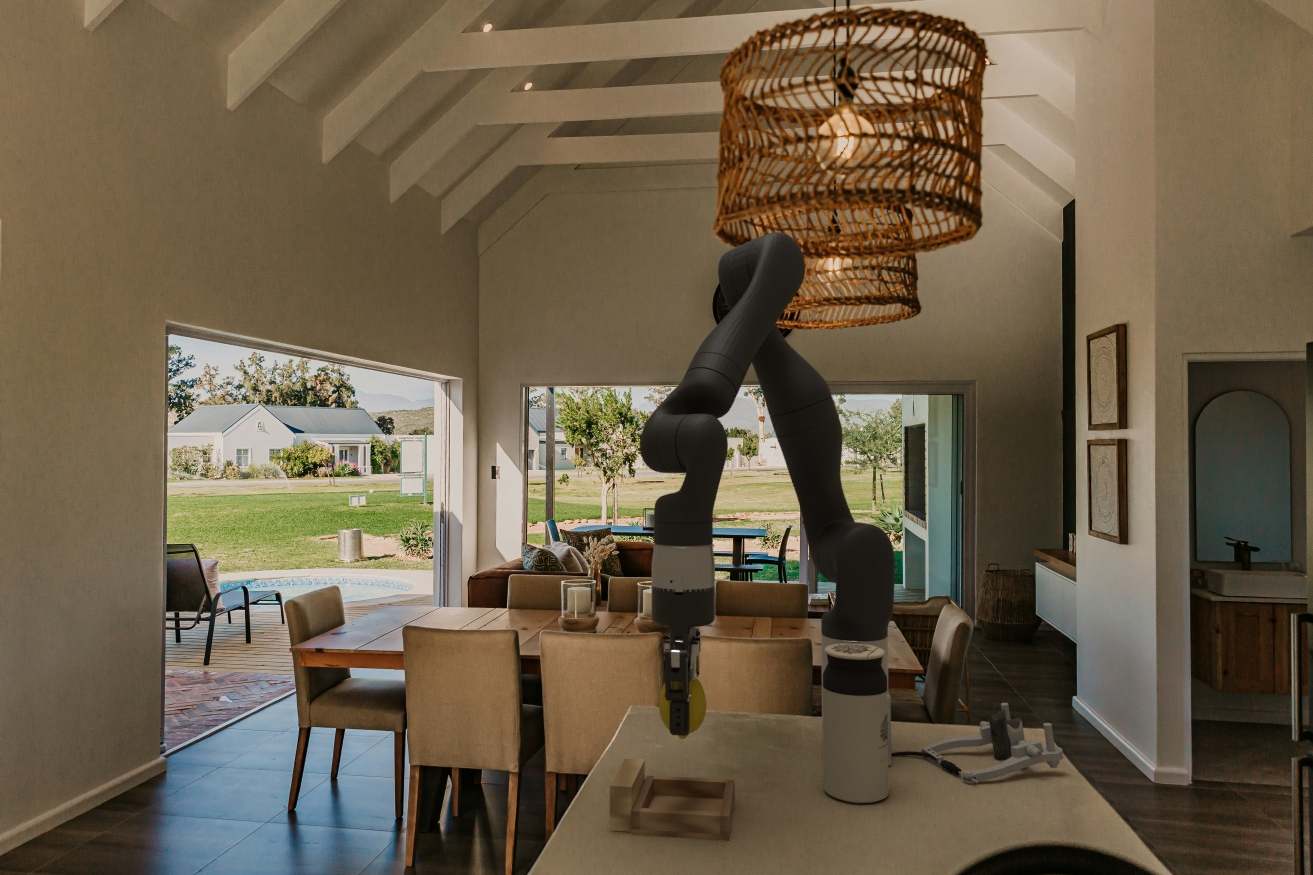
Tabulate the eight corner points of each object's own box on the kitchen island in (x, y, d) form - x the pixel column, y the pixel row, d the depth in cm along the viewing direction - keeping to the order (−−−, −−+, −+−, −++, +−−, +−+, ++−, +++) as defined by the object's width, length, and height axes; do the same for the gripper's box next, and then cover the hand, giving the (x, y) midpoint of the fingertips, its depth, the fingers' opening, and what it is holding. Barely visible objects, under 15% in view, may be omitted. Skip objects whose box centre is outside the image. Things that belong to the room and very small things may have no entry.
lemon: (709, 732, 101) (709, 666, 101) (702, 748, 95) (702, 677, 96) (664, 729, 102) (664, 663, 102) (654, 744, 97) (654, 674, 97)
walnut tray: (734, 804, 103) (734, 779, 103) (729, 843, 92) (728, 816, 92) (646, 799, 105) (646, 775, 105) (631, 837, 94) (630, 810, 94)
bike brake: (1010, 740, 124) (887, 771, 120) (1003, 694, 124) (880, 724, 120) (1074, 774, 111) (939, 811, 106) (1067, 723, 110) (931, 758, 106)
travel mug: (812, 794, 105) (811, 650, 106) (840, 776, 112) (838, 640, 112) (873, 810, 100) (871, 659, 101) (898, 790, 107) (896, 647, 107)
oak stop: (644, 800, 103) (644, 759, 104) (631, 831, 95) (631, 786, 95) (624, 799, 104) (624, 758, 104) (609, 830, 95) (609, 785, 95)
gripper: (661, 573, 107) (660, 707, 106) (641, 590, 93) (640, 744, 92) (719, 575, 106) (719, 710, 105) (708, 591, 92) (708, 748, 91)
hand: (682, 725), depth 99 cm, fingers closed on lemon, 5 cm apart
